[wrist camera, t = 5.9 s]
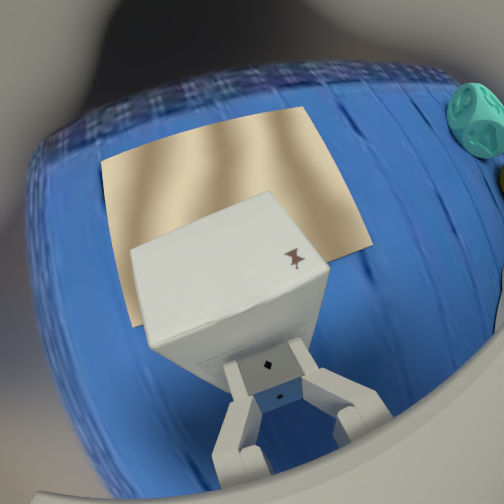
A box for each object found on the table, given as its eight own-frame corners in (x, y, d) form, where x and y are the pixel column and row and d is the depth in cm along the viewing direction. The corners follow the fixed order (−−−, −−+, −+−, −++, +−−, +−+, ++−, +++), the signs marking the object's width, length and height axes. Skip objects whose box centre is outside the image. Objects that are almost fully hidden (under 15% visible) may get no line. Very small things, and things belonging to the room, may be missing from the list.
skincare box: (279, 310, 20) (273, 185, 10) (307, 359, 18) (338, 269, 8) (204, 343, 19) (125, 246, 9) (226, 395, 17) (147, 353, 7)
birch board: (301, 110, 25) (302, 106, 24) (369, 246, 22) (373, 244, 21) (103, 164, 22) (101, 161, 21) (135, 327, 19) (132, 327, 18)
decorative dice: (486, 166, 26) (519, 141, 19) (450, 140, 26) (484, 108, 19) (477, 129, 28) (504, 103, 21) (442, 104, 28) (469, 73, 21)
